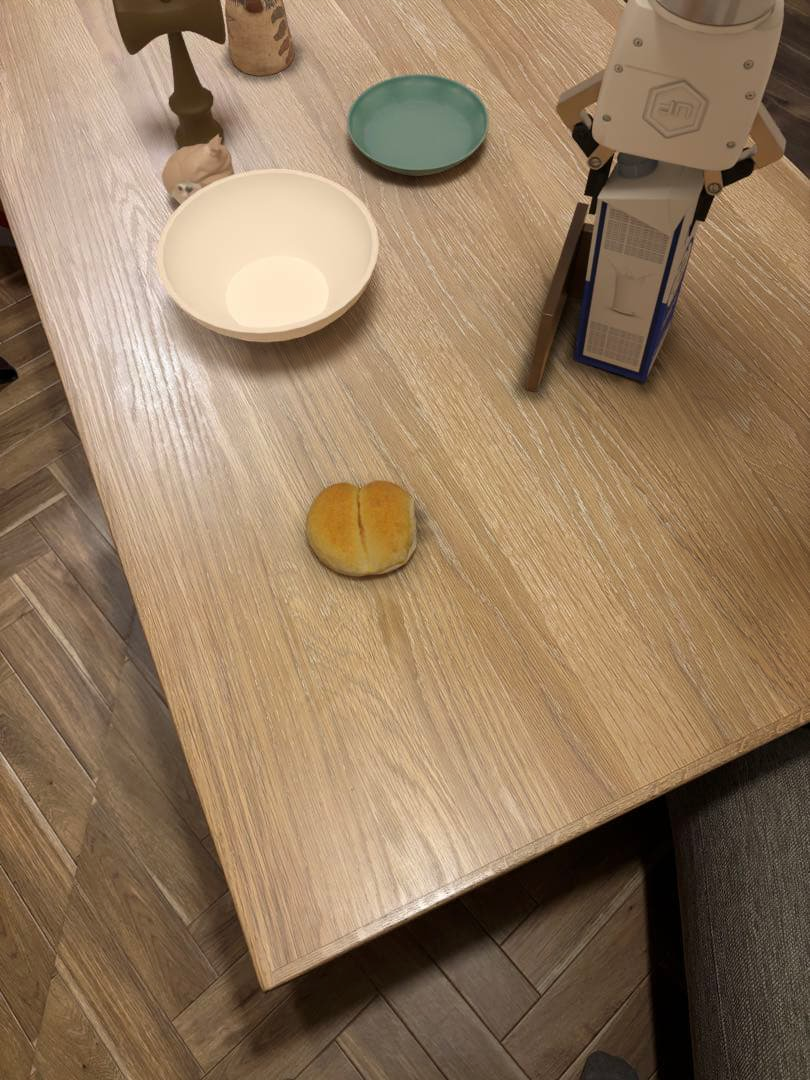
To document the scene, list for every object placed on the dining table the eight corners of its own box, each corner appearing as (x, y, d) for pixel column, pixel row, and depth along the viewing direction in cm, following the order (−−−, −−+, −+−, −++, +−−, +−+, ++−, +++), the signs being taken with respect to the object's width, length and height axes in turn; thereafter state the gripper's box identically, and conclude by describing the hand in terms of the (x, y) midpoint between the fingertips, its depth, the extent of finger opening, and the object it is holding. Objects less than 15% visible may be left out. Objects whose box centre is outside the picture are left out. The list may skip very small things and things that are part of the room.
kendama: (250, 152, 91) (212, -48, 73) (158, 167, 90) (97, -32, 72) (241, 115, 94) (203, -87, 76) (152, 129, 93) (92, -72, 75)
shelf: (663, 309, 81) (694, 227, 72) (636, 418, 76) (666, 344, 67) (559, 284, 83) (577, 201, 74) (525, 389, 77) (541, 313, 68)
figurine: (294, 35, 100) (280, -77, 89) (294, 75, 97) (280, -37, 86) (232, 38, 100) (211, -75, 89) (230, 78, 97) (208, -34, 86)
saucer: (410, 77, 97) (410, 55, 94) (515, 135, 92) (517, 113, 90) (319, 146, 92) (317, 124, 89) (426, 211, 87) (426, 190, 85)
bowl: (133, 300, 82) (111, 246, 76) (286, 196, 88) (277, 138, 82) (268, 420, 76) (256, 372, 70) (423, 299, 82) (424, 244, 76)
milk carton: (644, 384, 77) (694, 198, 59) (572, 361, 79) (600, 174, 61) (669, 328, 80) (724, 135, 62) (599, 307, 82) (634, 114, 64)
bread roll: (307, 493, 73) (302, 468, 69) (414, 489, 73) (414, 464, 69) (306, 583, 69) (300, 561, 65) (418, 579, 69) (419, 557, 65)
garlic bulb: (205, 233, 86) (187, 166, 79) (159, 205, 88) (137, 137, 81) (250, 195, 88) (236, 126, 81) (204, 169, 90) (186, 99, 83)
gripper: (557, -19, 50) (520, 221, 66) (864, 39, 47) (748, 274, 64) (585, -90, 53) (543, 156, 69) (874, -39, 51) (762, 204, 67)
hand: (642, 211), depth 66 cm, fingers closed on milk carton, 6 cm apart
